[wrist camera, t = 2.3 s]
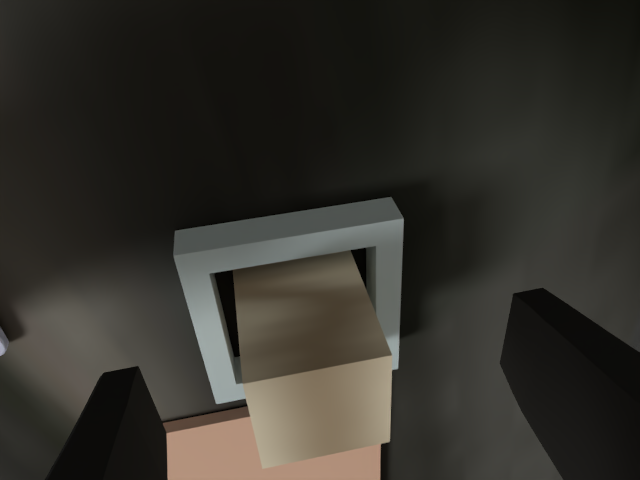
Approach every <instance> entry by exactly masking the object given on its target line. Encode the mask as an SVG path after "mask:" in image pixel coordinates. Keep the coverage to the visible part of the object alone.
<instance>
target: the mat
mask: <svg viewBox="0 0 640 480" xmlns="http://www.w3.org/2000/svg"><path fill="white" fill-rule="evenodd" d="M163 426H164V428H165V430H166V433H167V474H168V480H380V454H381V444H378V445H373V446H368V447H363V448H359V449H354V450H349V451H345V452H340V453H335V454H330V455H326V456H321V457H316V458H312V459H307V460H302V461H298V462H293V463H288V464H283V465H279V466H274V467H269V468H265V469H262V465H261V461H260V456H259V452H258V448H257V444H256V439H255V435H254V431H253V426H252V422H251V418H250V414H249V409H248V406H247V407H242V408H236V409H231V410H226V411H221V412H216V413H211V414H206V415H201V416H196V417H191V418H186V419H181V420H176V421H171V422H166V423H163Z"/></svg>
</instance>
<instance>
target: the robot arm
mask: <svg viewBox="0 0 640 480" xmlns="http://www.w3.org/2000/svg"><path fill="white" fill-rule="evenodd" d="M8 344H9V342H8V339H7V337H6V335H5V334H4V332H3V330H2V329H1V327H0V356H1V355H3V354H4V353H5V352H6V350H7V347H8ZM500 365H501V367H502V369H503V372H504V374H505V376H506V379H507V381H508V383H509V385H510V388H511V390H512V392H513V394H514V396H515V398H516V400H517V403H518V405H519V407H520V409H521V411H522V413H523V414H524V416H525V418H526V419H527V421H528V423H529V424H530V426H531V428H532V429H533V431H534V433H535V434H536V436H537V438H538V439H539V441H540V443H541V444H542V446H543V447H544V449H545V451H546V452H547V454H548V456H549V457H550V459H551V460H552V462H553V464H554V465H555V467H556V469H557V470H558V472H559V473H560V475H561V477H562V478H563V480H640V352H638V351H637V350H635V349H634V348H632V347H630V346H629V345H627V344H626V343H624V342H623V341H621V340H620V339H618V338H617V337H615V336H614V335H612V334H611V333H609V332H608V331H606V330H605V329H603V328H602V327H600V326H599V325H598V324H596V323H595V322H593V321H592V320H590V319H589V318H587V317H586V316H584V315H583V314H581V313H580V312H578V311H577V310H575V309H574V308H572V307H571V306H569V305H568V304H567V303H565V302H564V301H562V300H561V299H559V298H558V297H556V296H555V295H553V294H551V293H550V292H548V291H547V290H545V289H544V288H539V289H534V290H529V291H524V292H519V293H514V294H513V298H512V303H511V309H510V314H509V319H508V324H507V329H506V334H505V339H504V345H503V350H502V355H501V360H500ZM45 480H168V474H167V433H166V430H165V428H164V426H163V423H162V421H161V419H160V416H159V414H158V411H157V409H156V407H155V404H154V402H153V400H152V397H151V395H150V393H149V390H148V388H147V386H146V383H145V381H144V379H143V376H142V374H141V371H140V369H139V367H138V366H136V367H131V368H126V369H120V370H115V371H110V372H105V373H103V374H102V376H101V377H100V378H99V380H98V382H97V384H96V386H95V388H94V390H93V392H92V394H91V396H90V398H89V400H88V402H87V404H86V405H85V407H84V409H83V411H82V413H81V415H80V417H79V419H78V421H77V423H76V425H75V427H74V428H73V430H72V432H71V434H70V436H69V438H68V440H67V441H66V443H65V445H64V447H63V449H62V451H61V452H60V454H59V456H58V458H57V459H56V461H55V463H54V465H53V466H52V468H51V470H50V472H49V474H48V475H47V477H46V479H45Z"/></svg>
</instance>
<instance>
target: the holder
mask: <svg viewBox="0 0 640 480" xmlns="http://www.w3.org/2000/svg"><path fill="white" fill-rule="evenodd" d="M403 227H404V218H403V216H402V214H401V213H400V211H399V209H398V208H397V206H396V204H395V202H394V201H393V199H392V197H387V198H381V199H374V200H368V201H362V202H355V203H349V204H342V205H336V206H330V207H323V208H317V209H310V210H304V211H298V212H291V213H285V214H279V215H272V216H266V217H259V218H253V219H247V220H240V221H234V222H227V223H221V224H215V225H208V226H202V227H195V228H189V229H183V230H176V231H175V236H174V252H173V257H174V260H175V263H176V267H177V270H178V274H179V277H180V281H181V284H182V288H183V291H184V294H185V298H186V301H187V305H188V308H189V312H190V315H191V319H192V322H193V325H194V329H195V332H196V336H197V339H198V343H199V346H200V349H201V353H202V356H203V360H204V363H205V367H206V370H207V374H208V377H209V380H210V384H211V387H212V391H213V394H214V398H215V401H216V404H220V403H225V402H230V401H235V400H240V399H245V398H246V397H245V392H244V388H243V383H242V372H241V360H240V356H239V357H234V354H233V350H232V346H231V342H230V338H229V333H228V329H227V325H226V321H225V316H224V312H223V308H222V304H221V300H220V295H219V291H218V287H217V283H216V279H215V274H214V273H216V272H222V271H228V270H234V269H240V268H246V267H252V266H258V265H264V264H270V263H276V262H282V261H288V260H294V259H300V258H306V257H312V256H318V255H324V254H330V253H336V252H342V251H348V250H354V249H360V248H366V288H367V293H368V295H369V298H370V300H371V303H372V306H373V308H374V311H375V313H376V316H377V318H378V321H379V323H380V326H381V328H382V331H383V333H384V336H385V338H386V341H387V343H388V346H389V348H390V351H391V353H392V370H394V369H398V358H399V332H400V305H401V279H402V253H403Z"/></svg>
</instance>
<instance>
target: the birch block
mask: <svg viewBox="0 0 640 480" xmlns="http://www.w3.org/2000/svg"><path fill="white" fill-rule="evenodd" d="M233 280H234V291H235V303H236V314H237V326H238V337H239V349H240V360H241V372H242V383H243V388H244V392H245V397H246V401H247V405H248V409H249V414H250V418H251V422H252V426H253V431H254V435H255V439H256V444H257V448H258V452H259V456H260V461H261V465H262V469H265V468H269V467H274V466H279V465H283V464H288V463H293V462H298V461H302V460H307V459H312V458H316V457H321V456H326V455H330V454H335V453H340V452H345V451H349V450H354V449H359V448H363V447H368V446H373V445H378V444H382V443H387V442H390V420H391V384H392V353H391V351H390V348H389V346H388V343H387V341H386V338H385V336H384V333H383V331H382V328H381V326H380V323H379V321H378V318H377V316H376V313H375V311H374V308H373V306H372V303H371V300H370V298H369V295H368V293H367V290H366V288H365V285H364V283H363V280H362V278H361V275H360V273H359V270H358V268H357V265H356V263H355V260H354V258H353V255H352V253H351V250H348V251H342V252H336V253H330V254H324V255H318V256H312V257H306V258H300V259H294V260H288V261H282V262H276V263H270V264H264V265H258V266H252V267H246V268H240V269H234V270H233Z"/></svg>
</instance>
